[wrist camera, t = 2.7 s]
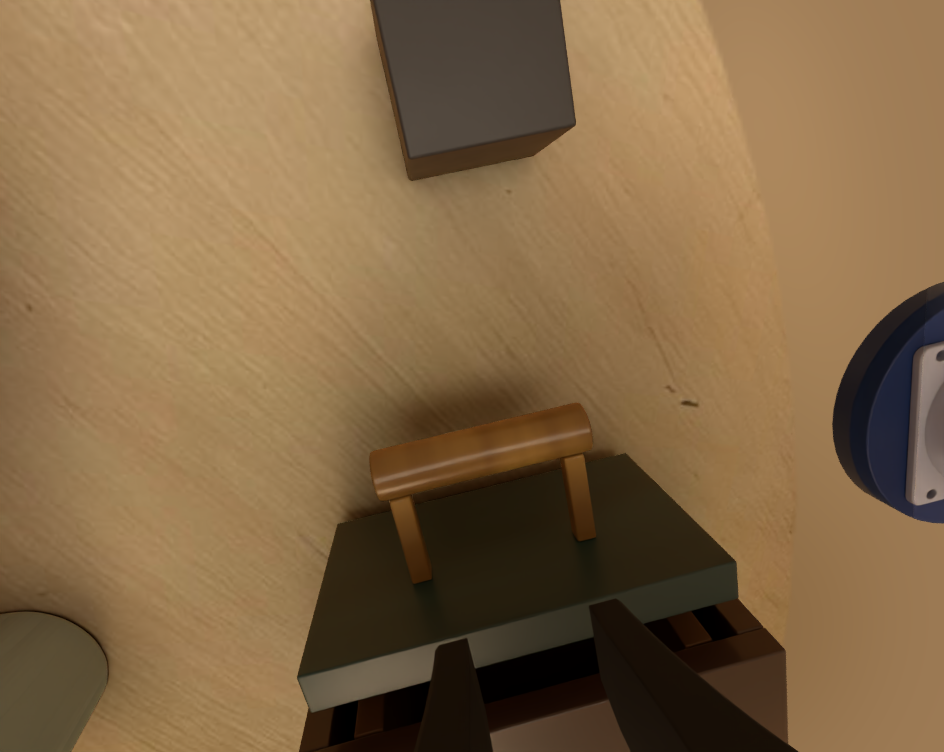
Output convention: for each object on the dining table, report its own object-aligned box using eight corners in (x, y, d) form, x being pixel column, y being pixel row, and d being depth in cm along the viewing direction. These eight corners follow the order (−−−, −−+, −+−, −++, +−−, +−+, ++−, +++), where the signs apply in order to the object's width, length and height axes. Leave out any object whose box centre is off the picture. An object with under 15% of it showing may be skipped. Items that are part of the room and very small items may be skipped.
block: (512, 7, 15) (550, -83, 11) (535, 155, 17) (577, 125, 12) (375, 33, 15) (361, -49, 11) (409, 181, 16) (408, 160, 12)
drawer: (303, 421, 17) (237, 531, 11) (612, 349, 18) (728, 410, 11) (419, 777, 22) (423, 999, 16) (658, 710, 23) (756, 897, 16)
